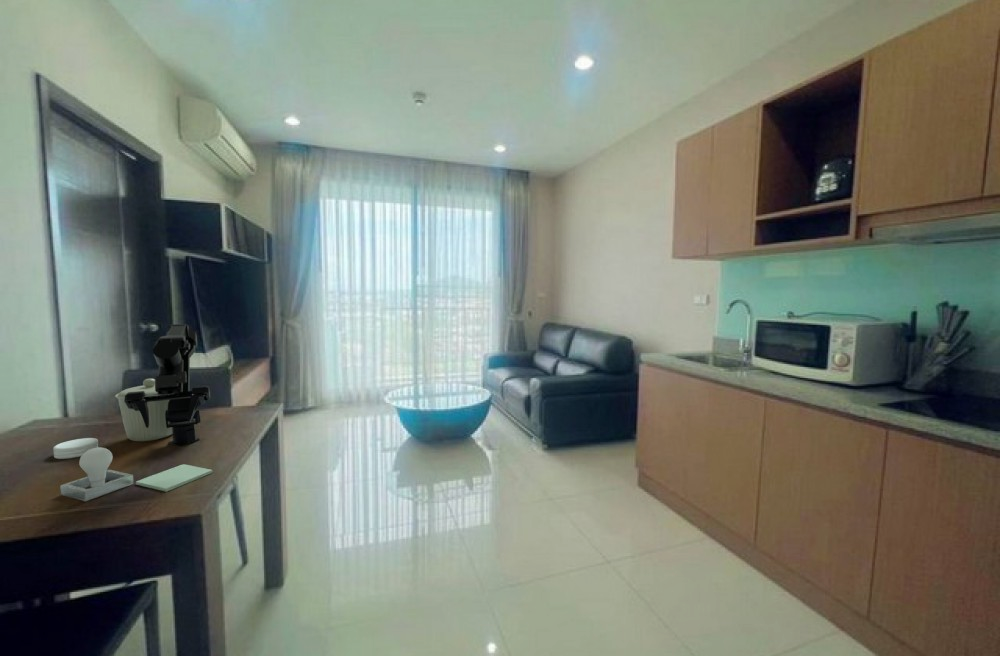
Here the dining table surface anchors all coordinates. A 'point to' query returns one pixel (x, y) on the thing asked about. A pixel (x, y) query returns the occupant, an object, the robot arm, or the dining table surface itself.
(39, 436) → the dining table surface
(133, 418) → the canister
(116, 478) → the grey square frame
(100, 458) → the lightbulb
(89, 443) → the white round disc
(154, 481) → the green mat
